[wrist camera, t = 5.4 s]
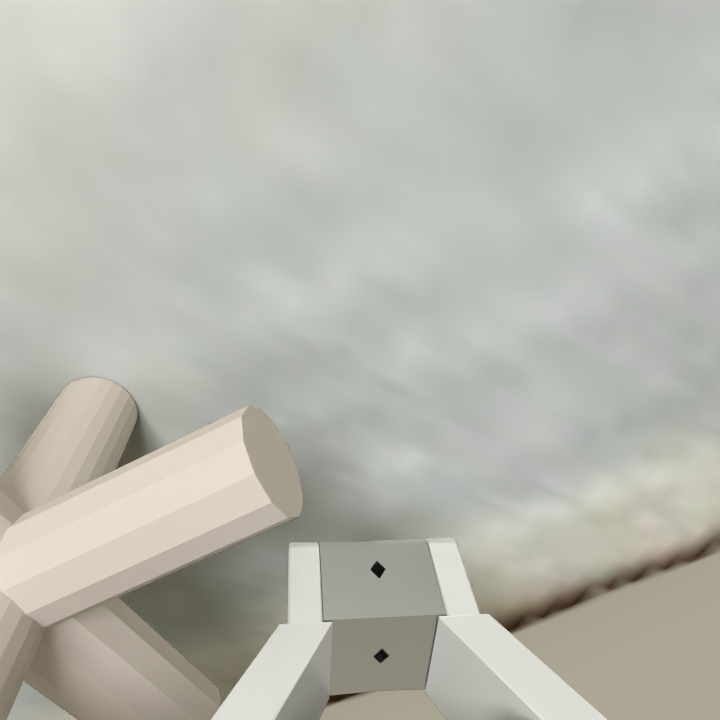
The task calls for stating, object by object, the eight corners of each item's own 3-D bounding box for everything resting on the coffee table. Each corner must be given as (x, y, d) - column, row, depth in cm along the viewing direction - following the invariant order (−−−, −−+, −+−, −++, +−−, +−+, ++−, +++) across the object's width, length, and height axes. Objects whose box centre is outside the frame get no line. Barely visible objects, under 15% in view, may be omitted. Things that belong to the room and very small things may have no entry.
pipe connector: (374, 468, 15) (480, 1028, 6) (67, 606, 17) (-190, 1226, 8) (146, 102, 11) (-565, 335, 2) (-255, 335, 12) (-1771, 1111, 3)
